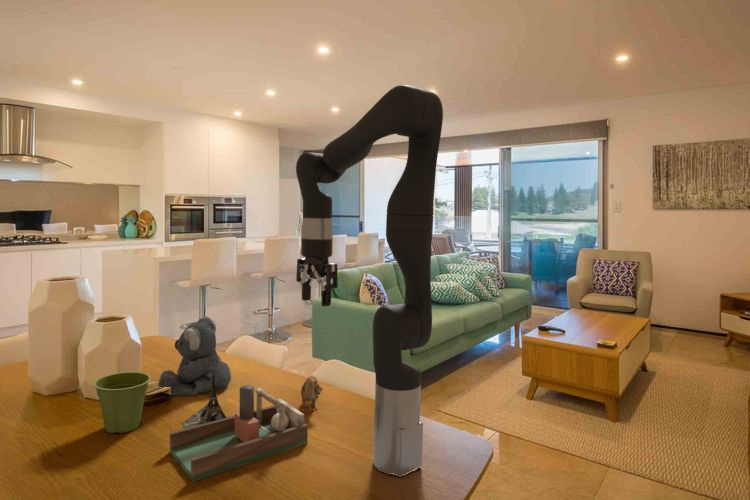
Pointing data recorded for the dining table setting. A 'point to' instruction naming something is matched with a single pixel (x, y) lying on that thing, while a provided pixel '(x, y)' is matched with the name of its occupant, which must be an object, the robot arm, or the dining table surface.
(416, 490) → the dining table surface
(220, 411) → the eiffel tower figurine
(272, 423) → the ball
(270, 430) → the pitch
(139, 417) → the plant pot
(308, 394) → the lion figurine
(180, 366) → the koala plush
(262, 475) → the dining table surface
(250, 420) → the striker
